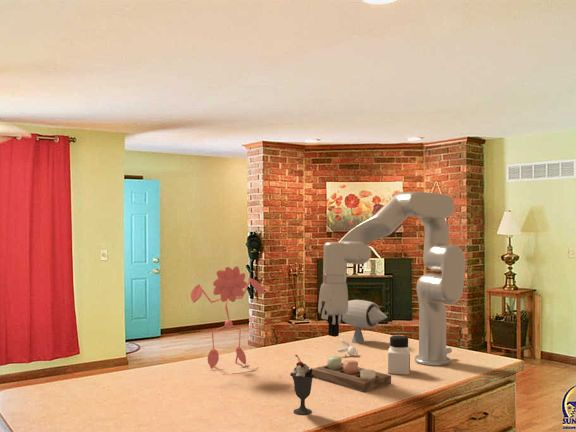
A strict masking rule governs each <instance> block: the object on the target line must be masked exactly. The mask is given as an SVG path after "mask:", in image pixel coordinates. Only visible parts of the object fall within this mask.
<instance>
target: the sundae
mask: <svg viewBox="0 0 576 432" xmlns="http://www.w3.org/2000/svg"><path fill="white" fill-rule="evenodd" d="M294 356H295V357H296V358H297V360H298V362H297V363H296V367H294V369H293V372H290V377H292V381H293V388H294V393H295V395H296V397H298V398H299V399H300V405H299V407H298V408H295V409H294V410H293V413H294V414H295V415H297V416H299V415H300V416H307V415H311V414H312V413H313V411H312V410H311V409H310V408H308V407H306V402H305V401H306V399H307V398H308V397H309V396H310V394H311V392H312V386H313V385H312V384H313V383H312V382H313V379H314V376H315V373H312V369H313V368H312V367H311V368H310V366H309V365H307V364H306V363H304V362H303V361H301V359H300V357H299V356H298V354H295V355H294Z"/></svg>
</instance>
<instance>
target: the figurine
mask: <svg viewBox="0 0 576 432" xmlns="http://www.w3.org/2000/svg"><path fill="white" fill-rule="evenodd" d="M216 276H217V279H215V280H214V281H213V283H212V284H213V286H214V289H213V295H214V296H217V295H220V298H217V299H215V300H211V298H210V297H209V296H208V294H207V293H206V292H205V290H203V287H202V286H201V284H197V285H195V286H194V287H193V289H192V290H191V292H190V299H191V302H192V303H193V304H195V303H196V302H197V301H198V300H200V298H201V297H202V295H203V294H204V295H205V296H204V297H206V298H207V300H208V301H209V302H210V303H211V304H213V303H216V302H219V301H221V302H223V303H225V306H224V307H225V311H226V316H227V320H226V321H225V322H224V326H221V327H219V328H217V329H215V330H212V332H211V338H212V349H210V351H209V353H208V355H207V364H208V365H209V367H210V370H213V369H214V368H215V367H216V366H217V364H218V362H219V359H220V357H219V356H220V355H219V352H218V350H217V349H215V345H214V343H215V341H214V332H217V331H218V330H221V329H223V328H226V329H230V328H232V327H233V328H235V329H237V330H239V334H238V336H239V337H238V338H239V339H238V340H239V341H238V346H237V347H236V348H235V353H236V354H235V355H236V356H235V363H237V362H238V360H239V361H240V362H241V363H242V364H244V365H245V366H246V365H247V357H246V353H245V351H244V350H243V349H242V348H241V328H240V327H237V326H236V325H233V321H232V320H230V317H229V316H230V315H229V311H228V301H230V302H232V303H234V302H236V300H237V299H238V300H239V299H241V300H242V299H243V298H244V295H245V294H246V292H247V289H248V287H249V285H251V286H252V287H253V289H254V290H256V291H257V292H258V293H260V294H262V295H266V293H265V290H264V288H263V286H262V284H261V283H260V282H258V281H257V280H256V279H254V278H251V277H249V279H248V282H247V281H245V280H246V274H245V273H244V272H242V273H241V272H240V267H239V266H236V265H235V266H234V267H233V268H231V267H229V266H226V267H225V268H224V270H222V269H220V270H217V271H216ZM243 289H244V290H243ZM257 369H258V367H256V368H255V369H254V368H253V369H252V370H250V371H247V373H249V372H254V371H256V370H257ZM244 373H246V371H244V372H237V373H236V372H235V373H233V375H235V374H236V375H237V374H244Z"/></svg>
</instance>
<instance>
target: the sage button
mask: <svg viewBox="0 0 576 432" xmlns="http://www.w3.org/2000/svg"><path fill="white" fill-rule="evenodd" d="M342 360H343V359H342V357H340V356H336V355H334V356H333V355H332V356H331V355H330V356H327V364H326V365H327V369H330V370H333V371H337V370H341V369H342V363H343V362H342Z"/></svg>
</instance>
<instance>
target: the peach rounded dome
mask: <svg viewBox="0 0 576 432" xmlns="http://www.w3.org/2000/svg"><path fill="white" fill-rule="evenodd" d="M342 363H343V373H344V374H348V375H355V374H358V367H359V362H358V361H357V360H353V359H352V360H351V359H350V360H349V359H348V360H344V361H343V362H342Z"/></svg>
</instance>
